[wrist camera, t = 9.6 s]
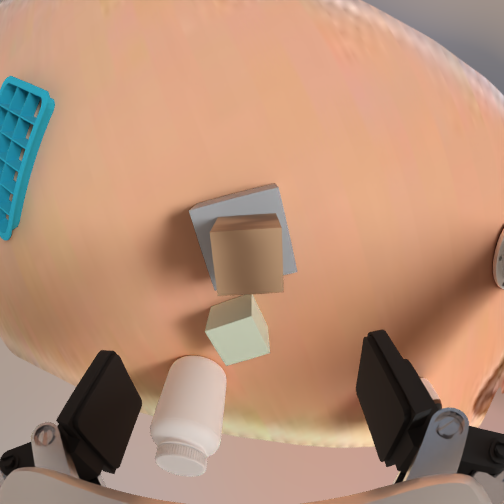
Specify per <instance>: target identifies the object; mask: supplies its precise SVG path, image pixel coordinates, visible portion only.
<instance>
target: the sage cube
mask: <svg viewBox="0 0 504 504" xmlns="http://www.w3.org/2000/svg"><path fill="white" fill-rule="evenodd" d="M205 333H206V334H207V336H208V338H209V339H210V341H211V343H212V344H213V346H214V347H215V349H216V351H217V352H218V354H219V355H220V357H221V358H222V360H223V362H224V363H225V365H226V366H228V365H231V364H235V363H238V362H242V361H245V360H249V359H252V358H255V357H259V356H262V355H265V354H268V353H270V345H269V334H268V326H267V324H266V322H265V320H264V317H263V315H262V313H261V311H260V309H259V307H258V305H257V303H256V301H255V298H254V296H253V294H246V295H242V296H240V297H237V298H234V299H231V300H228V301H226V302H223V303H220V304H217V305H214V306H211V308H210V312H209V316H208V320H207V324H206V328H205Z"/></svg>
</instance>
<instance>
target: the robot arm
mask: <svg viewBox="0 0 504 504" xmlns="http://www.w3.org/2000/svg"><path fill="white" fill-rule="evenodd" d="M493 276H494V280H495V283H496V284H497V285H498V286H499V287H500V288H501V289H504V229H503V231H502V233H501V235H500V237H499V240H498V242H497V246H496V249H495V254H494V260H493ZM356 392H357V396H358V399H359V401H360V404H361V407H362V410H363V412H364V415H365V418H366V421H367V424H368V427H369V430H370V433H371V435H372V438H373V441H374V444H375V447H376V450H377V453H378V457H379V459H380V461H381V462H383V461H385V464H386V467H389V466H392V465H396V467H397V470H398V471H399V473H398V475H397V477H396V479H395V481H394V483H393V484H392V485H389V486H385V487H381V488H377V489H374V490H370V491H366V492H362V493H358V494H354V495H349V496H345V497H340V498H334V499H329V500H323V501H316V502H310V503H302V504H504V434H501V433H496V432H492V431H488V430H483V429H480V428H476V427H472V426H469V421H468V418H467V416H466V415H465V414H464V413H463V412H462V411H460V410H458V409H456V408H443V409H441V410H439V409H438V408H437V406H436V404H435V402H434V401H433V399H432V397H431V396H430V394H429V392H428V391H427V389H426V387H425V386H424V384H423V382H422V381H421V379H420V377H419V376H418V374H417V372H416V371H415V369H414V368H413V366H412V364H411V363H410V362H409V360H407V359H403V358H402V356H401V355H400V353H399V352H398V350H397V348H396V347H395V345H394V344H393V342H392V341H391V339H390V338H389V336H388V334H387V333H386V331H385V330H378V331H373V332H369V333H368V336H367V337H364V339H363V346H362V353H361V360H360V366H359V372H358V378H357V384H356ZM141 406H142V400H141V398H140V396H139V394H138V392H137V390H136V388H135V386H134V385H133V383H132V381H131V379H130V377H129V375H128V373H127V371H126V369H125V367H124V364H123V362H122V360H121V358H120V356H119V355H117V354H116V353H115V352H114V351H106V350H101V351H100V352H99V353H98V354H97V356H96V357H95V359H94V360H93V362H92V363H91V365H90V367H89V368H88V370H87V371H86V373H85V374H84V376H83V377H82V379H81V380H80V382H79V384H78V385H77V387H76V388H75V390H74V392H73V393H72V395H71V397H70V398H69V400H68V401H67V403H66V405H65V406H64V408H63V410H62V412H61V413H60V415H59V417H58V418H57V420H56V421H57V422H58V423H59V425H58V426H56V425H55V424H53V423H51V422H45V423H42V424H40V425H38V426H37V427H36V428H35V429H34V430H33V432H32V435H31V442H29V443H27V444H24V445H22V446H19V447H16V448H14V449H11V450H8V451H7V452H5V453H4V454H3V455H2V457H1V459H0V504H184V503H176V502H169V501H163V500H157V499H152V498H147V497H142V496H137V495H132V494H129V493H125V492H121V491H117V490H113V489H110V488H107V487H106V485H105V483H104V481H103V479H102V476H101V474H100V473H101V471H102V470H103V471H105V472H109V473H112V474H114V473H115V470H116V468H119V467H120V464H121V461H122V458H123V456H124V453H125V450H126V447H127V444H128V442H129V439H130V436H131V433H132V431H133V428H134V425H135V423H136V420H137V417H138V414H139V412H140V409H141Z"/></svg>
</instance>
